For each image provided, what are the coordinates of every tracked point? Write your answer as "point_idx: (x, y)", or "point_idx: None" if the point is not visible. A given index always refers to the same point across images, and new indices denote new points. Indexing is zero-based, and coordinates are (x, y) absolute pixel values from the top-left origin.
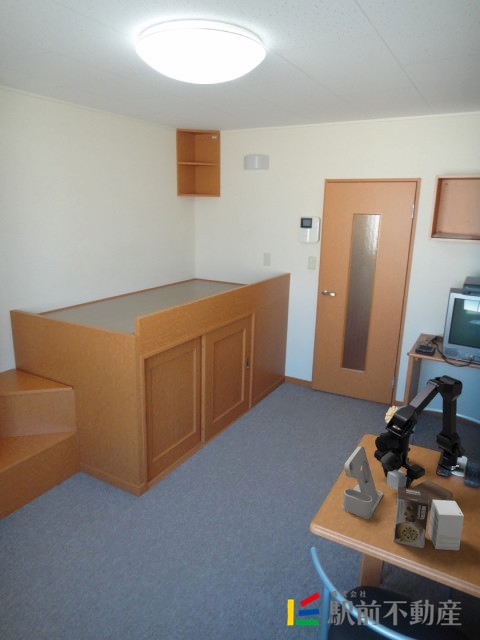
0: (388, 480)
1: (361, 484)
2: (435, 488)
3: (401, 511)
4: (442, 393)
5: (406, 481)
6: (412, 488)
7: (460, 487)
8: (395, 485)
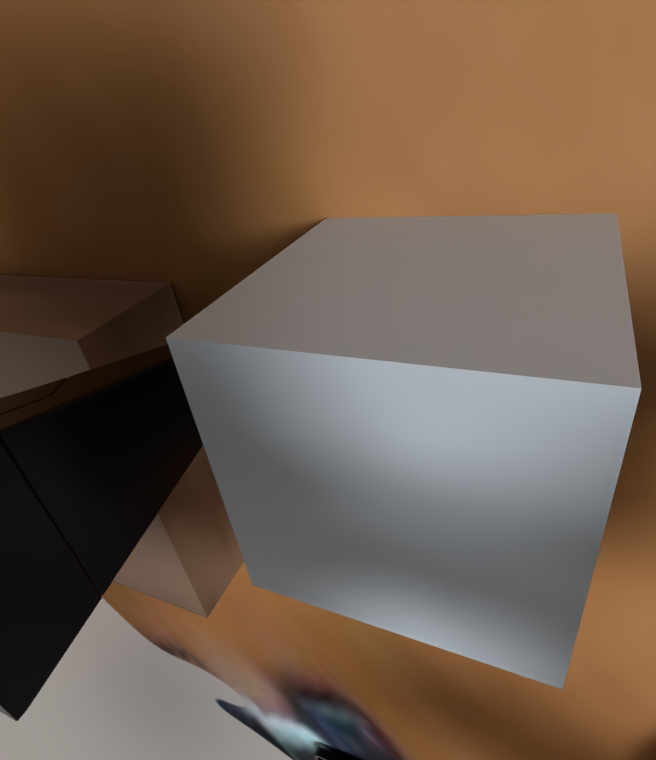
0: (561, 254)
1: None
2: None
3: None
4: None
5: (91, 389)
6: (65, 341)
7: (172, 625)
8: (352, 245)
